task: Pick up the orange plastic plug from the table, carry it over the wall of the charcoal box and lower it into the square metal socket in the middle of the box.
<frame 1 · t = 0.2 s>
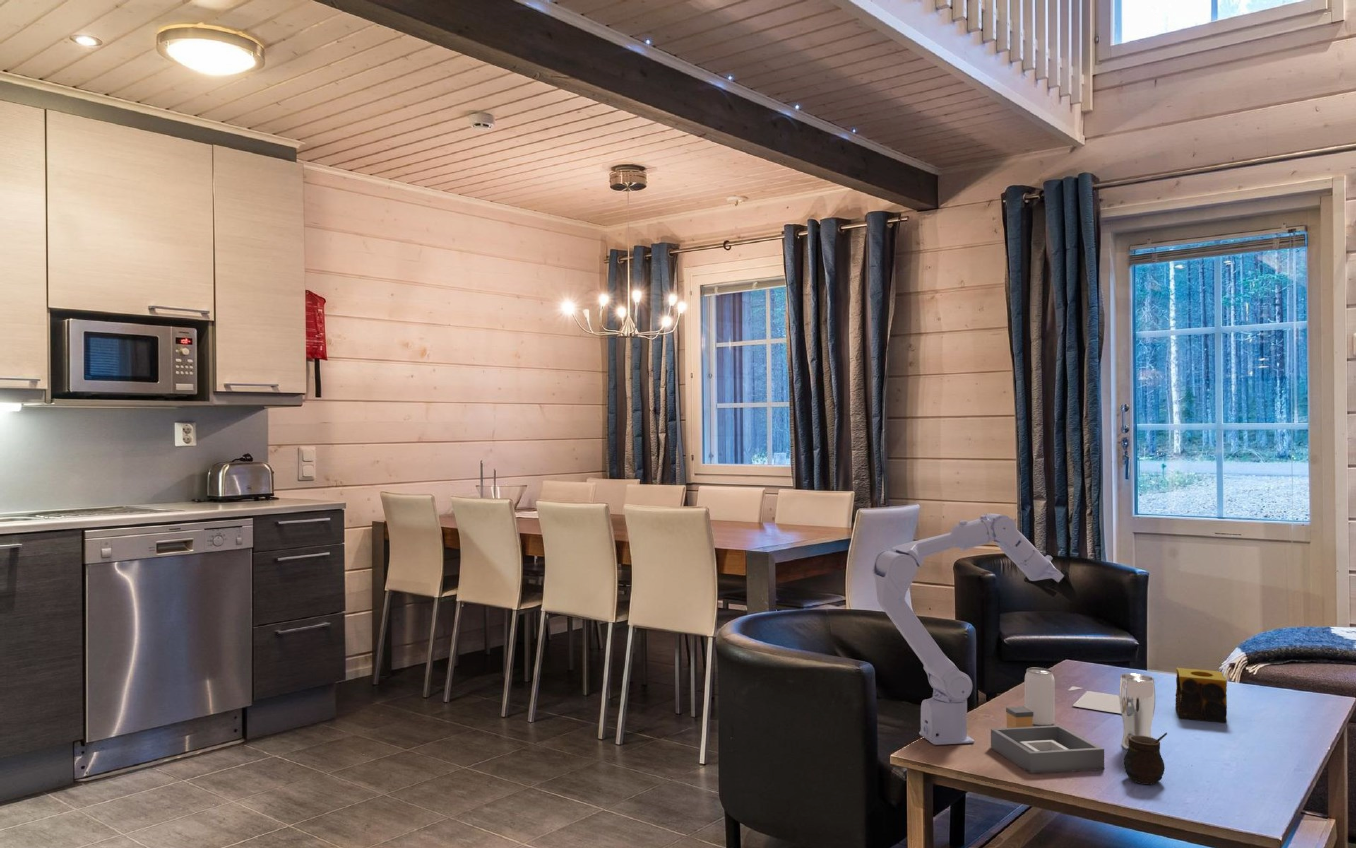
hand: (1065, 596, 218), 31 cm above the table, tool tilted 45°, fingers open, 7 cm apart
beer glass: (1137, 748, 207), on the table
plug: (1019, 736, 215), on the table
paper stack: (1092, 699, 246), on the table
mate gourd: (1144, 781, 188), on the table
can: (1039, 723, 225), on the table
candle: (1200, 716, 231), on the table
box: (1045, 758, 200), on the table
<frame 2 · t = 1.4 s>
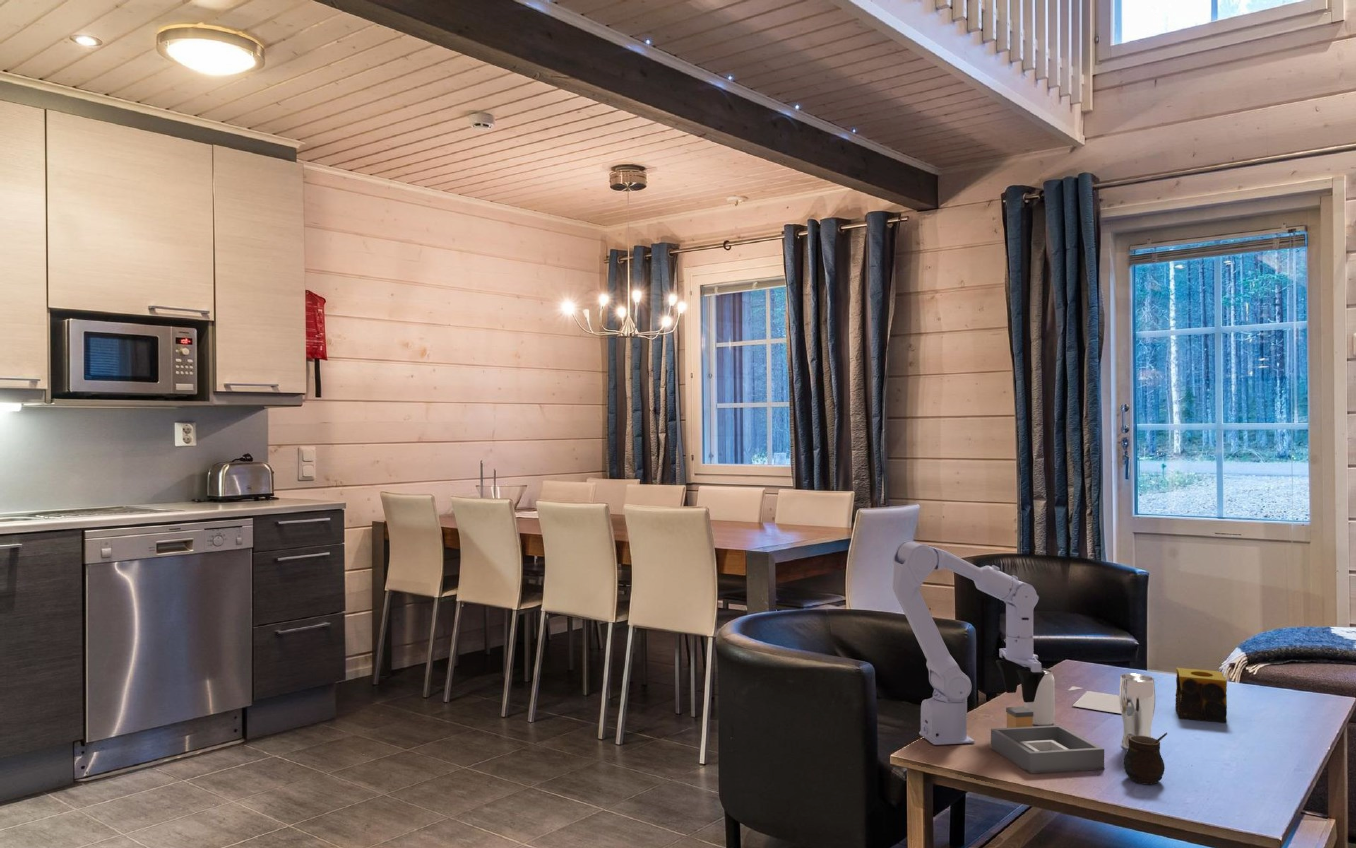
hand: (1019, 697, 215), 9 cm above the table, tool pointing down, fingers open, 7 cm apart
nothing on the table moved.
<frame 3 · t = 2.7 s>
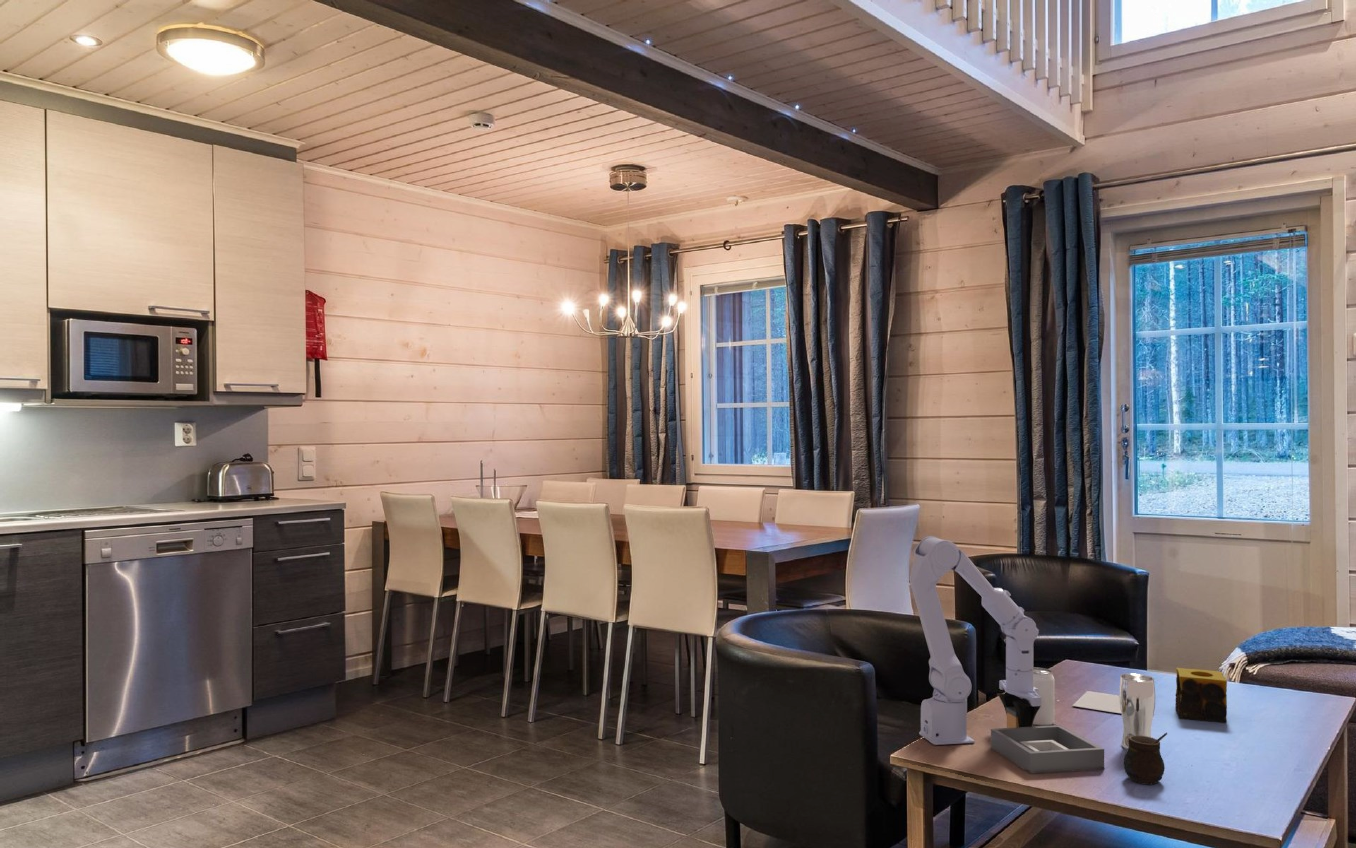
hand: (1019, 730, 215), 1 cm above the table, tool pointing down, fingers closed on plug, 4 cm apart
plug: (1019, 736, 215), on the table, touching gripper
everything else where it was.
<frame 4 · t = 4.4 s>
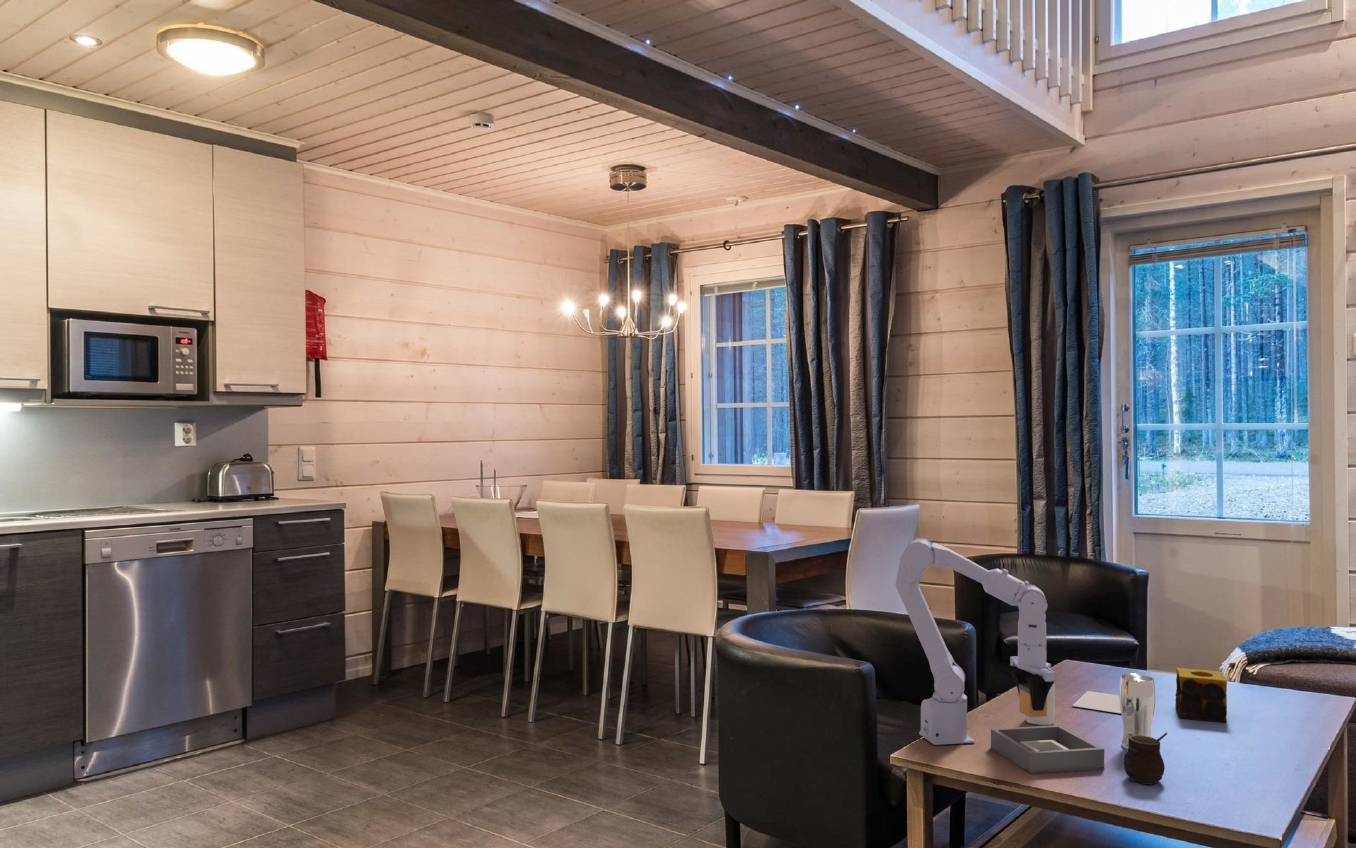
hand: (1032, 707, 208), 8 cm above the table, tool pointing down, fingers closed on plug, 4 cm apart
plug: (1033, 714, 208), point 7 cm above the table, touching gripper
everything else where it was.
when the fingers open (4 cm above the table, at t = 6.2 s): plug drops 1 cm, resting on box.
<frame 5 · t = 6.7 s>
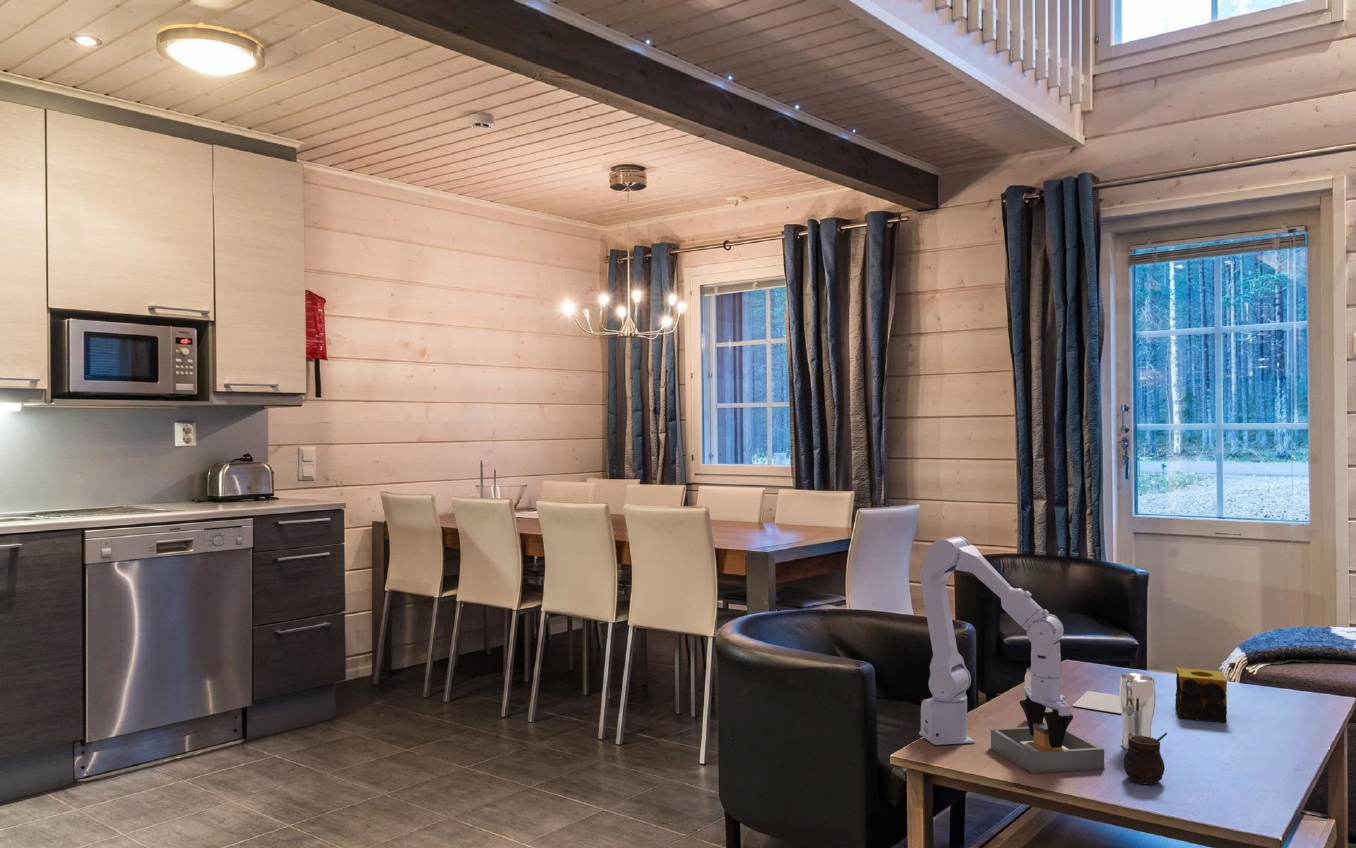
hand: (1045, 741, 200), 4 cm above the table, tool pointing down, fingers open, 7 cm apart
plug: (1047, 755, 201), point 1 cm above the table, touching box
everything else where it was.
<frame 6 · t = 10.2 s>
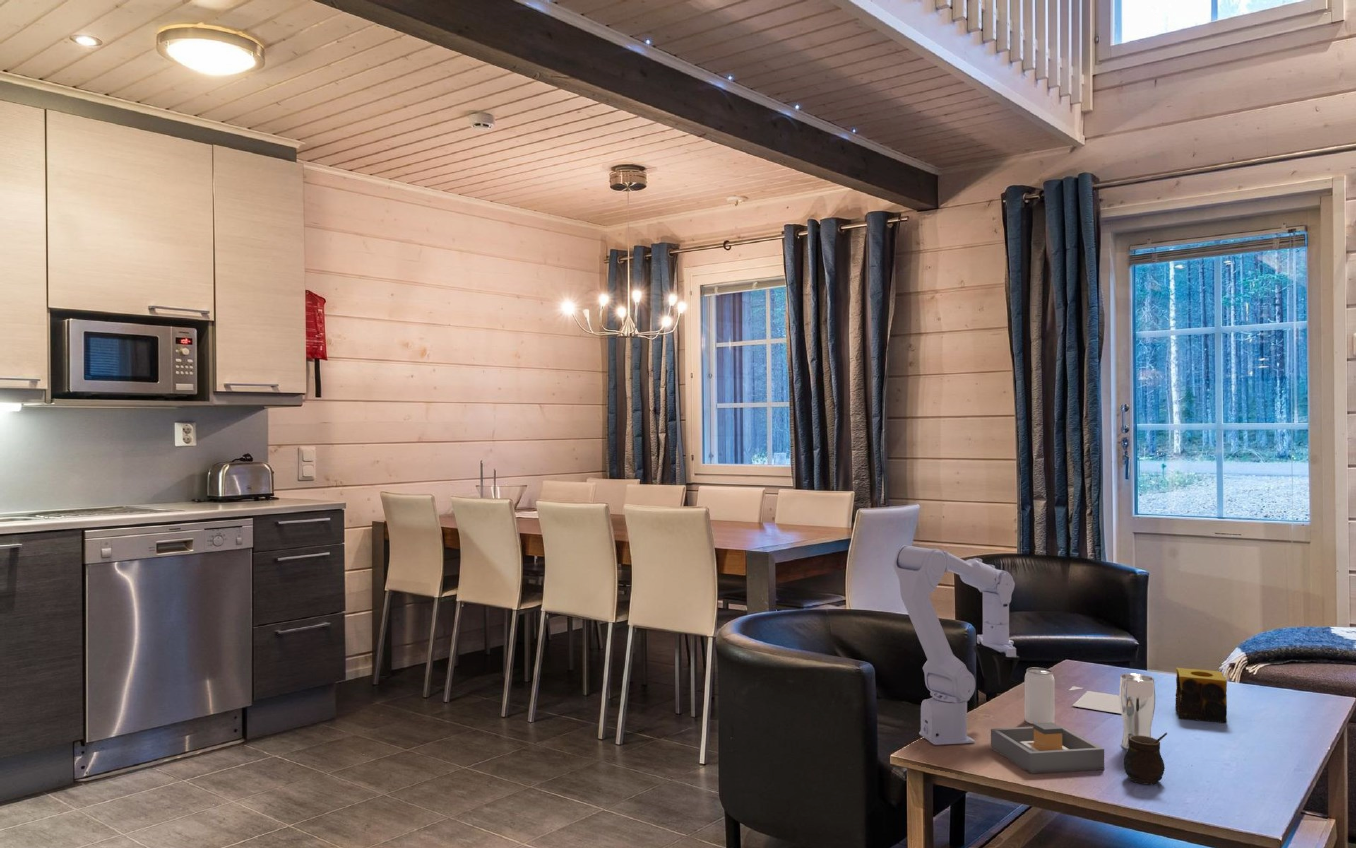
hand: (996, 681, 221), 10 cm above the table, tool pointing down, fingers open, 7 cm apart
nothing on the table moved.
at the end: plug 0.5 cm off-centre on the box, point 0.6 cm above the box's base; plug tilted 0°; the gripper is holding nothing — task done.
